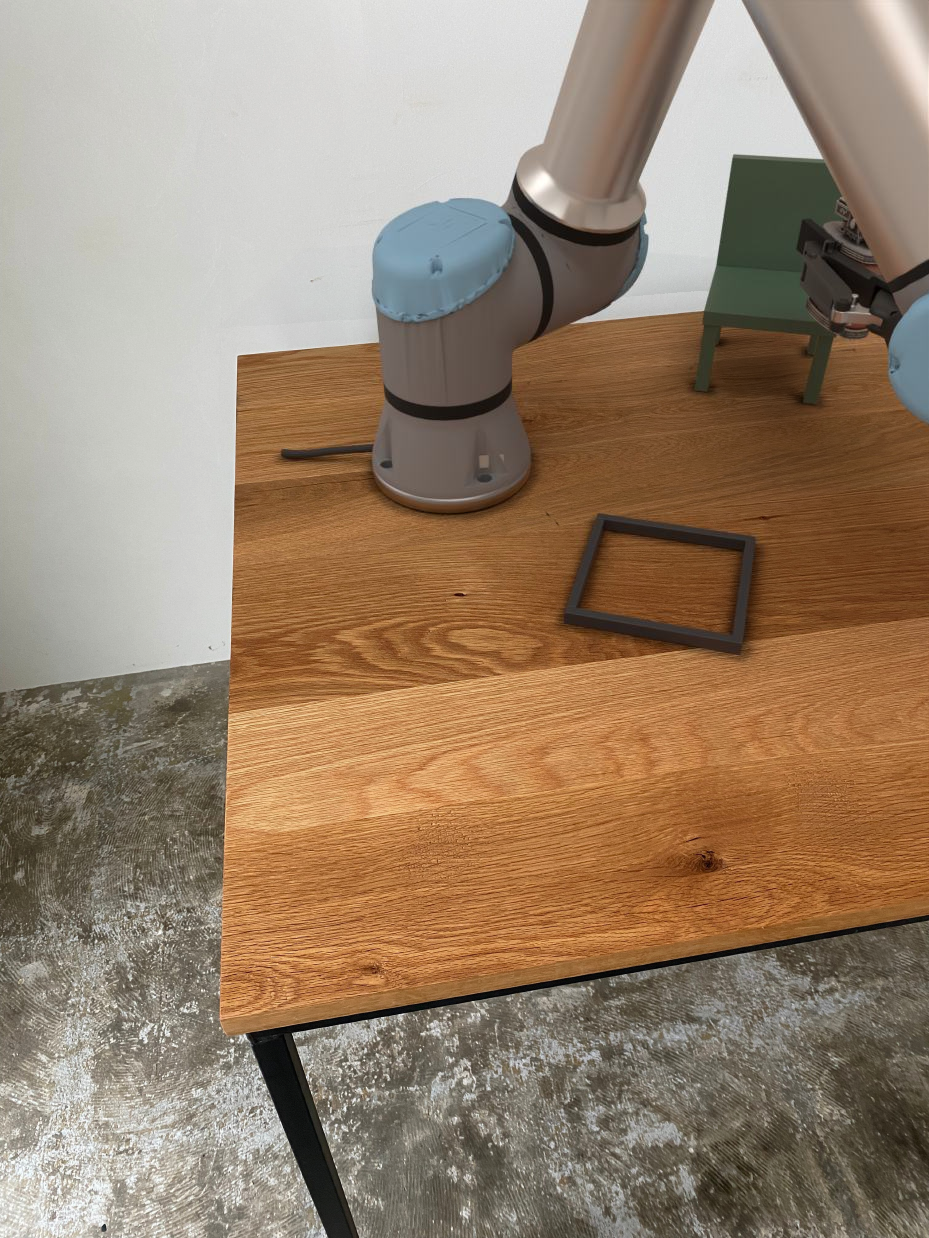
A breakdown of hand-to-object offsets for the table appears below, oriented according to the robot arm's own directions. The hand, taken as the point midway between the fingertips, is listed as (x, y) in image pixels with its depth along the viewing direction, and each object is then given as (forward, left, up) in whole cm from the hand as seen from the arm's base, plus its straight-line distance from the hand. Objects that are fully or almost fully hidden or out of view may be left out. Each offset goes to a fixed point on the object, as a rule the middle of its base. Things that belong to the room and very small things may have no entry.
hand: (825, 232), depth 85 cm
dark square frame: (-8, -32, -18) cm, 37 cm away
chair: (-3, +7, -18) cm, 20 cm away
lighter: (+2, -5, -6) cm, 8 cm away
